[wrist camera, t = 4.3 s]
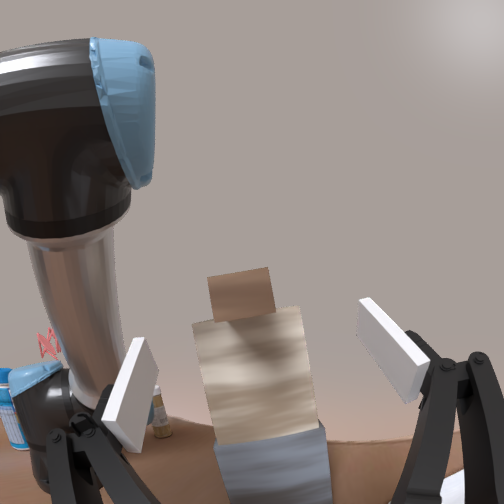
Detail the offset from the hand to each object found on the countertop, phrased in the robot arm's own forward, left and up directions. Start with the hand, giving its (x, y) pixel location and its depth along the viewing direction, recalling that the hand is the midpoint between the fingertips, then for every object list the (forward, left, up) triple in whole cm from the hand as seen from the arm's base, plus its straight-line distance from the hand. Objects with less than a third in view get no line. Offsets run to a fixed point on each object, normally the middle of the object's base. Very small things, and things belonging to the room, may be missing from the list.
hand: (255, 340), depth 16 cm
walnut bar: (-10, +12, +1) cm, 15 cm away
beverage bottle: (-63, -18, -27) cm, 71 cm away
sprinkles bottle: (-49, +18, -27) cm, 59 cm away
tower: (-13, +15, -27) cm, 33 cm away
